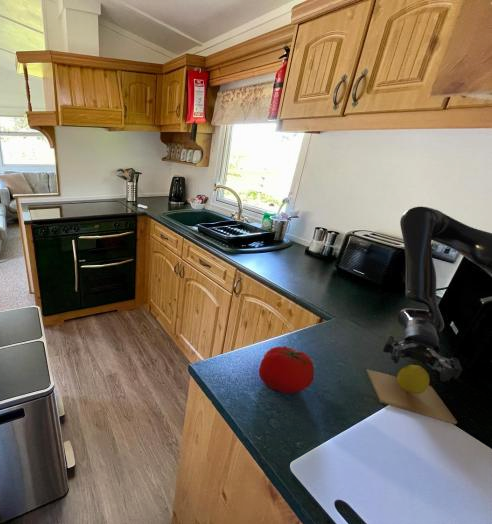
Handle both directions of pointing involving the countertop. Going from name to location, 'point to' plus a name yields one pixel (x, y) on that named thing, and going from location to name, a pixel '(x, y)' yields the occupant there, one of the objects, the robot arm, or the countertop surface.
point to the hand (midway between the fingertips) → (419, 368)
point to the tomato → (286, 370)
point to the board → (409, 397)
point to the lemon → (413, 379)
